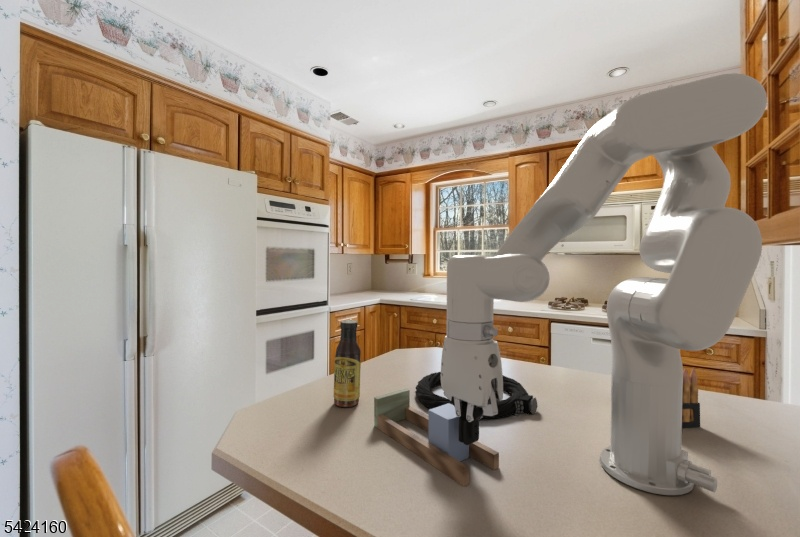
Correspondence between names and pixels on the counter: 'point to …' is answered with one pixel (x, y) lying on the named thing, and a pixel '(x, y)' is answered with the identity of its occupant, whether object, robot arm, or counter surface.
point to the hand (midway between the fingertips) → (468, 440)
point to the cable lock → (511, 405)
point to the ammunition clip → (690, 401)
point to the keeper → (446, 432)
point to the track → (398, 409)
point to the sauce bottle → (347, 366)
